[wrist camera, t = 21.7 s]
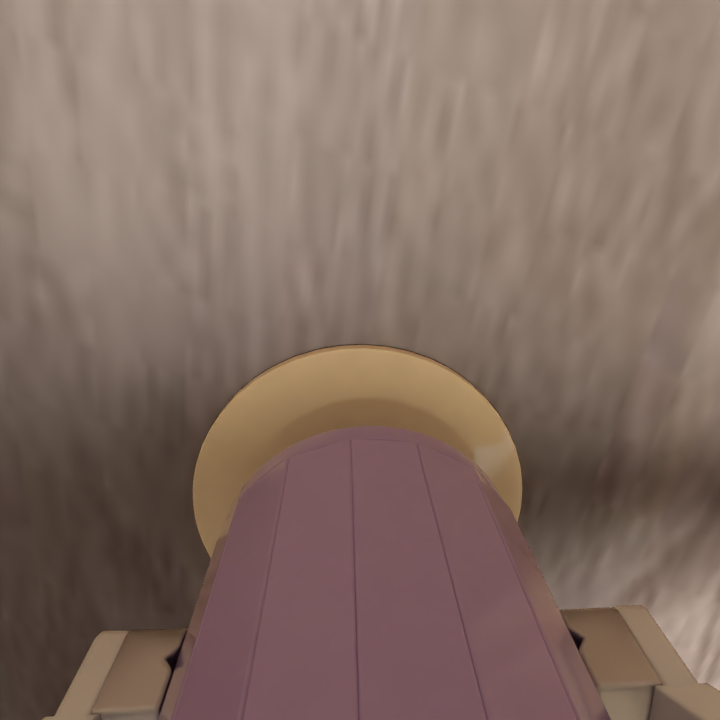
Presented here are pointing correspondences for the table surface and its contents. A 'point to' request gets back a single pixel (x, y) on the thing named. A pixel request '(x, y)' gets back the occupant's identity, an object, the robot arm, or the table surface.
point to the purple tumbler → (376, 596)
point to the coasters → (346, 420)
